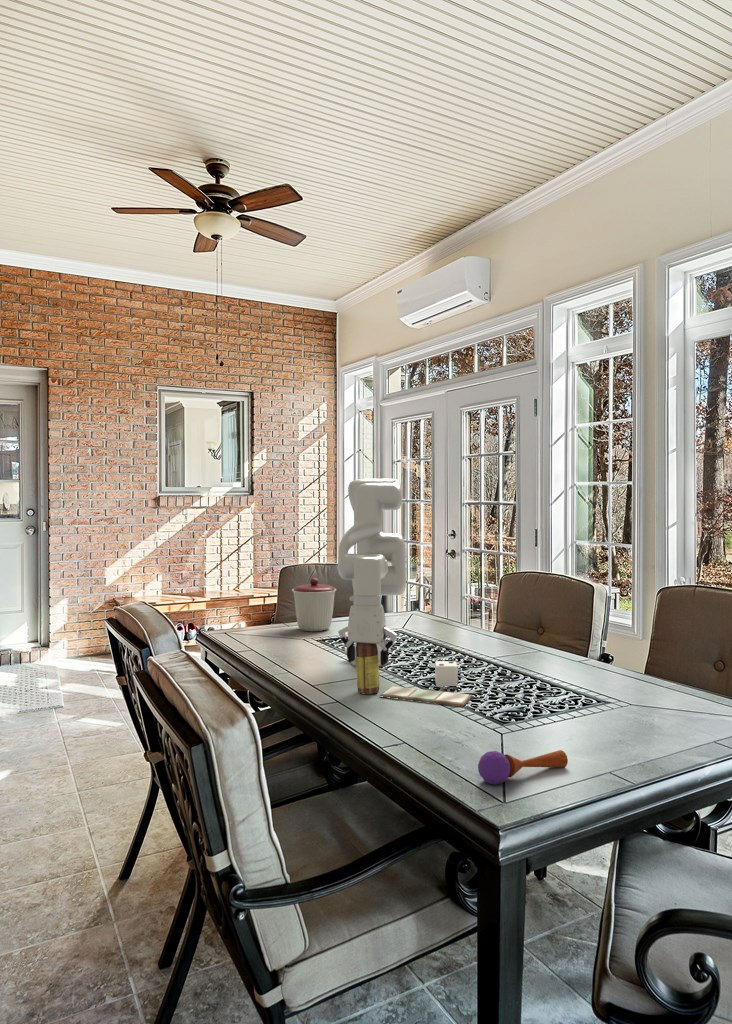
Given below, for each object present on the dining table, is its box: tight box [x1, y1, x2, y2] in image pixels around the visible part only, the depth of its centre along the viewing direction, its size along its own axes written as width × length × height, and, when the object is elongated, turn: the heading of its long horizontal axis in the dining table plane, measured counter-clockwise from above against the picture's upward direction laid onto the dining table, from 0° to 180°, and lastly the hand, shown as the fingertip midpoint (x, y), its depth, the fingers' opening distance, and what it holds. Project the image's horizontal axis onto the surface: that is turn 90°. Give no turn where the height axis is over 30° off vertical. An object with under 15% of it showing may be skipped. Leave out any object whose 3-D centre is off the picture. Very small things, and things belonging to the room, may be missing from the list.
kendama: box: [477, 749, 568, 786], centre depth 134 cm, size 6×6×20 cm
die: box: [434, 660, 459, 688], centre depth 200 cm, size 6×6×6 cm
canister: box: [291, 577, 337, 632], centre depth 282 cm, size 18×18×21 cm
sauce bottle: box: [355, 643, 380, 695], centre depth 192 cm, size 6×6×20 cm
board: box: [379, 685, 473, 708], centre depth 186 cm, size 23×9×1 cm, turn 68°
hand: (367, 662), depth 191 cm, fingers open, 9 cm apart
